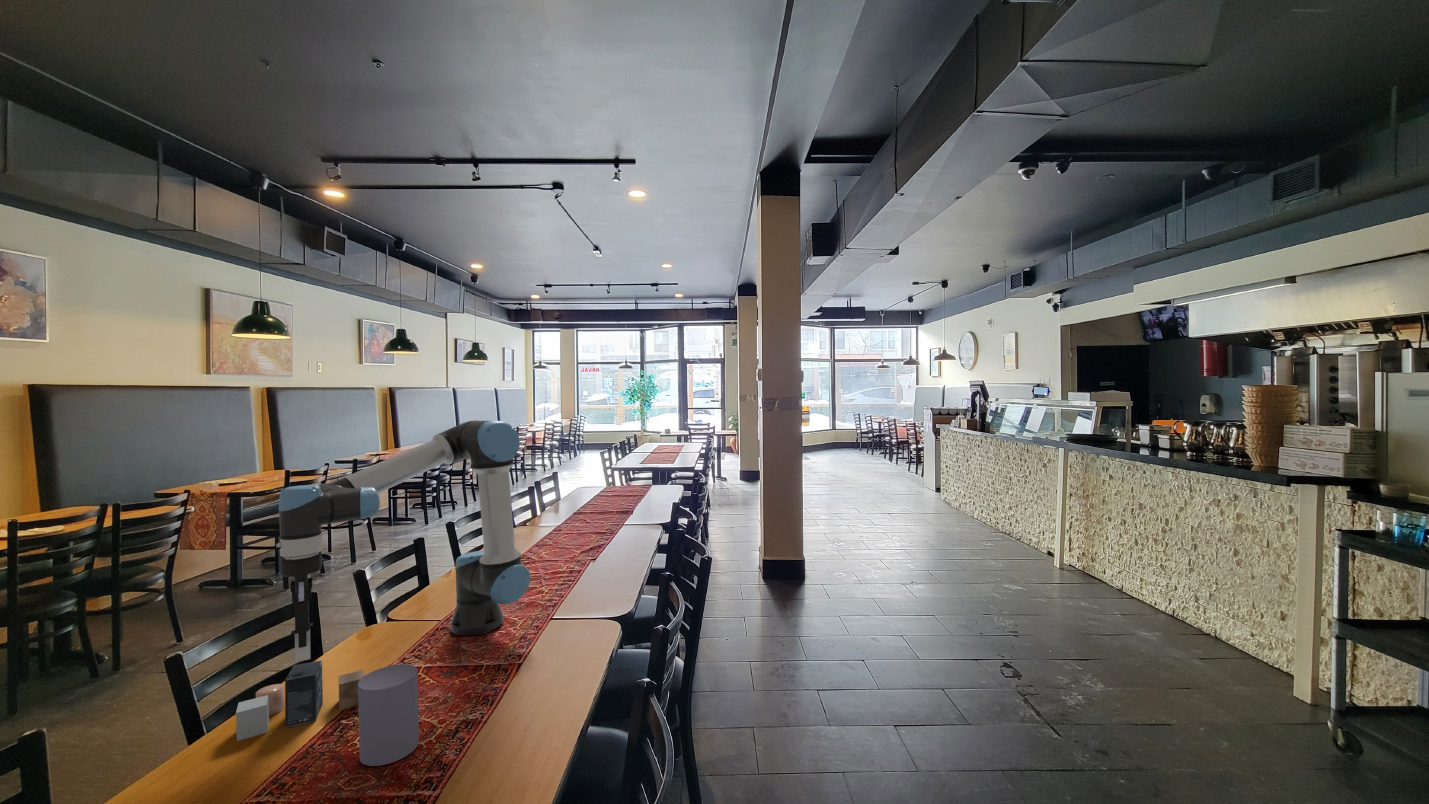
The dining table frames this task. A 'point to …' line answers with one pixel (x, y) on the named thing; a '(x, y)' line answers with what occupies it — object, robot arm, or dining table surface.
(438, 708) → the dining table surface
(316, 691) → the box
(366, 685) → the container
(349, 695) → the walnut block
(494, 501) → the robot arm
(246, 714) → the slate block
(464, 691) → the dining table surface
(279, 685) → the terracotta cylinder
